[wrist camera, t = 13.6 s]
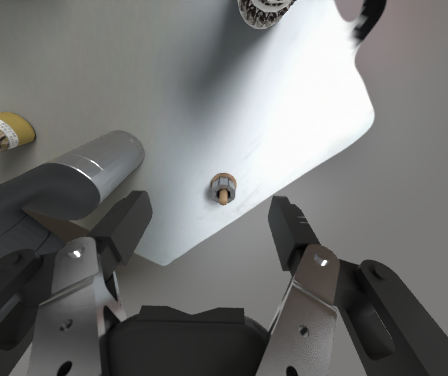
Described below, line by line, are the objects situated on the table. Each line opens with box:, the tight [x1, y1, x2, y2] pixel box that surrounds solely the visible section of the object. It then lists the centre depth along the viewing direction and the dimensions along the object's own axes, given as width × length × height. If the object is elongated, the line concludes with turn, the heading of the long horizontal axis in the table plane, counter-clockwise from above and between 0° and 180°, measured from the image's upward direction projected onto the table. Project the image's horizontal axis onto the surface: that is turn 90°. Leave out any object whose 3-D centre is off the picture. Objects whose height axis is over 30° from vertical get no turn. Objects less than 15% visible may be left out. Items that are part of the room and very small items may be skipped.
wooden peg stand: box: [211, 173, 236, 205], centre depth 42 cm, size 7×7×8 cm
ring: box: [212, 176, 235, 204], centre depth 43 cm, size 6×6×4 cm
